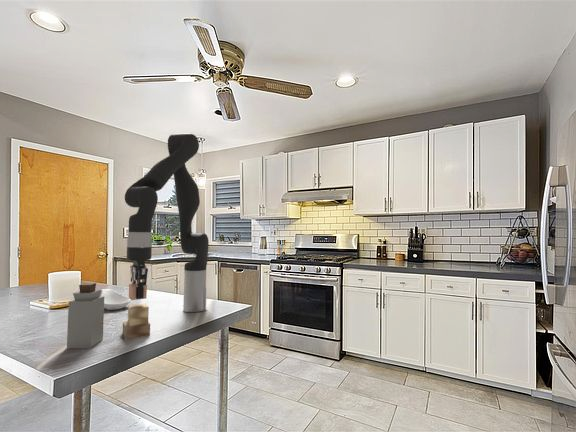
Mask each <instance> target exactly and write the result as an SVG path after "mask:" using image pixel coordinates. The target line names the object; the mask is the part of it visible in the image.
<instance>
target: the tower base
mask: <svg viewBox="0 0 576 432" xmlns="http://www.w3.org/2000/svg"><path fill="white" fill-rule="evenodd" d="M122 335H123V337H124V339H125V340H133V339H136V338H137V337H138V338H142V336H143V337H149V336H150V335H151V323H150V322H149V321H148V324H143V325H136V326H129V324H128V320H127V321H123V322H122ZM148 335H149V336H148ZM138 338H137V339H138Z"/></svg>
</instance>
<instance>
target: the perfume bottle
mask: <svg viewBox="0 0 576 432" xmlns="http://www.w3.org/2000/svg"><path fill="white" fill-rule="evenodd" d="M96 286H97V283H96V282H85V283H81V284H79V286H78V287H79V290H78V291H75V292H73V293H72V295H73V298H74V299H72V300H69V301H68V309H67V313H68V314H67V334H66V335H67V337H66V349H90V348H91V349H92V348H93V347H94V346H96V345H97V344H99V343H100V342H101V341H103V339H104V318H105V314H104V313H105V308H104V296H99V295H100V292H101V289H96V288H97V287H96Z"/></svg>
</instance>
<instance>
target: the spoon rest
mask: <svg viewBox="0 0 576 432" xmlns="http://www.w3.org/2000/svg"><path fill="white" fill-rule="evenodd" d="M100 290H101V292H100V295H99V296H104V310H108V311H114V310H116V311H117V310H122V309H123V308H125V307H128V305H130V302H131V299H129V296H126V295H123V294H122V293H119V292H117V290H116V291H115V290H114V289H112V288H106V289H103V288H101V289H100Z"/></svg>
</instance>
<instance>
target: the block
mask: <svg viewBox="0 0 576 432" xmlns="http://www.w3.org/2000/svg"><path fill="white" fill-rule="evenodd" d="M147 288H148V285H147V284H146V286H144V295H143V298H141V299H140V300H146V299H147V297H148V296H147V293H148V291H147V290H148V289H147ZM128 298H129V299H130V301H136V300H139V299H136V284H132V283H128Z"/></svg>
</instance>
